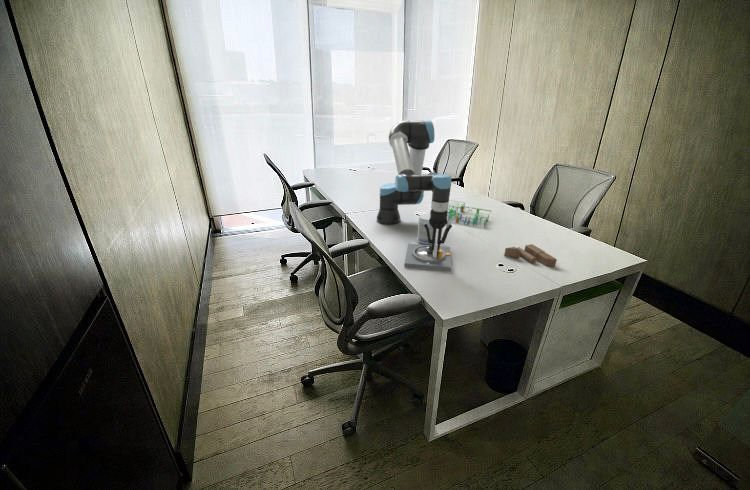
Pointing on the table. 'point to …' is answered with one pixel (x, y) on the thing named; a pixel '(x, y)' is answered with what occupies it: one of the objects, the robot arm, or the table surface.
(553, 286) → the table surface
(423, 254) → the dial
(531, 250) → the wooden block set
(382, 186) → the robot arm
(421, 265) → the dial plate
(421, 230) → the supplement tub
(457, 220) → the house model
